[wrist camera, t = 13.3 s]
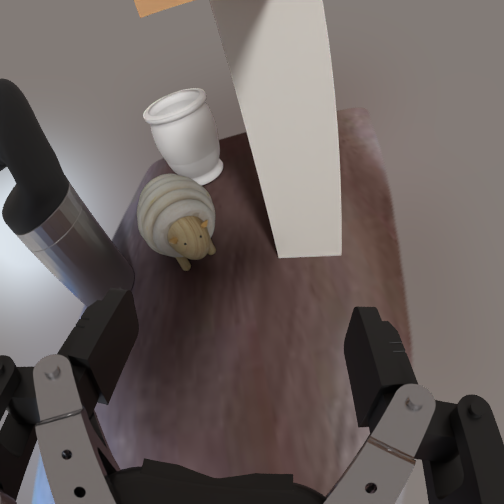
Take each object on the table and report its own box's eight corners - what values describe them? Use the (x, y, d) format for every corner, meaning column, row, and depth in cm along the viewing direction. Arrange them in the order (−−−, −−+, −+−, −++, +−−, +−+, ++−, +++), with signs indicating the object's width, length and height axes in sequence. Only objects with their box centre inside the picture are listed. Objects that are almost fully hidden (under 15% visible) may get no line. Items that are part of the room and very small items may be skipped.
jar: (199, 199, 52) (166, 122, 41) (163, 183, 58) (131, 116, 46) (241, 162, 56) (218, 88, 45) (202, 151, 62) (178, 86, 50)
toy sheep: (183, 300, 40) (144, 246, 32) (141, 231, 51) (109, 180, 42) (250, 255, 43) (228, 192, 34) (194, 196, 53) (171, 143, 45)
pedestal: (341, 255, 40) (300, -96, 11) (269, 258, 42) (170, -70, 13) (333, 174, 49) (296, -73, 20) (276, 178, 51) (216, -60, 22)
